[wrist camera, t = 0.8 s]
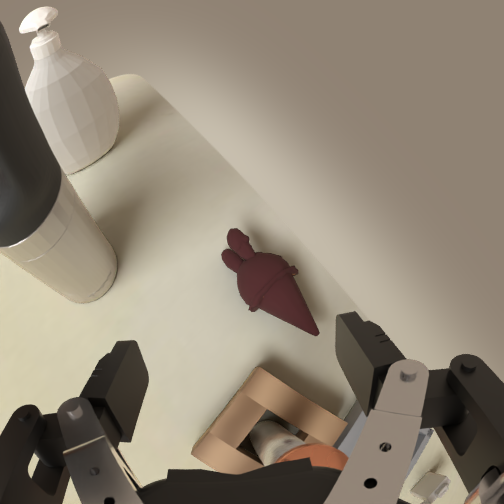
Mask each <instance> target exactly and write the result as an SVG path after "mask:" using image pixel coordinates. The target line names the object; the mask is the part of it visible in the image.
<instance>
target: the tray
mask: <svg viewBox="0 0 504 504" xmlns="http://www.w3.org/2000/svg"><path fill="white" fill-rule="evenodd" d="M367 418H368V417H366V416H365V414H364V412H363V410H362V408H361V406H360V404H359V402H358V400H357V401H356V402H355V404H354V405H353V407H352V409H351V410H350V412H349V413H348V415H347V417H346V418H345V420H344V421H345V422H347V423H348V424H347V426H346V427H345V429H344V430H343V432H342V433H341V435H340V436H339V438H338V439H337V441H336V442H335V443H334V445H333V446H332V447H334V448H336V449H338V450H340V451H342V452H343V453H344V454H345V455H347V456H348V458H349V457H350V455H351V453H352V451H353V449H354V447H355V445H356V442H357V440H358V438H359V436H360V434H361V432H362V429H363V427H364V425H365V423H366V420H367ZM433 431H434V430H432V429H430V428H426V429H420V430H419V434H418V438H417V442H416V445H415V449H414V452H413V456H412V459H411V463H410V466H409V469H408V472H407V475H406V478H407V477H408V475H409V474H410V472H411V470H412V469H413V467H414V465H415V464H416V462H417V460H418V459H419V457H420V455H421V454H422V452H423V450H424V448H425V446H426V445H427V443H428V441H429V439H430V437H431V435H432V433H433ZM406 478H405V480H406Z"/></svg>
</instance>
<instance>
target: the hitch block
mask: <svg viewBox="0 0 504 504" xmlns="http://www.w3.org/2000/svg"><path fill="white" fill-rule="evenodd" d="M267 409H268V410H269V411H271V412H273V413H274V414H276V415H277V416H279V417H281V418H282V419H284V420H285V421H287V422H289V423H290V424H292V425H294V426H295V427H297V428H299V429H300V430H299V431H298V433H297V434H296V435H295V436H296V437H298V438H299V439H301V440H302V441H304V442H305V443H307V444H308V443H322V444H327V445H330V446H333V445H334V443H335V442H336V441H337V439H338V438H339V436H340V435H341V433H342V432H343V430H344V429H345V427H346V426H347V424H348V423H347V422H345V421H344V420H342V419H340V418H339V417H337V416H335V415H333V414H332V413H330V412H329V411H327V410H325V409H324V408H322V407H320V406H319V405H317V404H315V403H314V402H312V401H311V400H309V399H308V398H306V397H304V396H303V395H301V394H300V393H298V392H297V391H295V390H294V389H292V388H290V387H289V386H287V385H286V384H284V383H283V382H281V381H280V380H278V379H277V378H275V377H274V376H272V375H271V374H270V373H268V372H267V371H265V370H264V369H262V368H261V367H255V369H254V370H253V371H252V373H251V374H250V375H249V377H248V378H247V379H246V381H245V382H244V383H243V385H242V386H241V387H240V389H239V390H238V391H237V393H236V394H235V395H234V396H233V398H232V399H231V400H230V402H229V403H228V404H227V405H226V407H225V408H224V409H223V411H222V412H221V413H220V414H219V416H218V417H217V418H216V419H215V421H214V422H213V423H212V424H211V426H210V427H209V428H208V429H207V430H206V432H205V433H204V434H203V435H202V437H201V438H200V439H199V440H198V441H197V443H196V444H195V445H194V446H193V449H192V452H191V455H193V456H194V457H196V458H197V459H199V460H200V461H202V462H203V463H205V464H207V465H208V466H210V467H211V468H213V469H215V470H216V471H218V472H221V473H228V474H242V473H246V472H249V471H252V470H255V469H258V468H262V467H265V466H264V464H263V463H262V461H261V459H260V458H259V457H257V456H256V455H254V454H252V453H250V452H249V451H247V450H246V449H244V448H242V447H241V446H239V445H240V443H241V442H242V441H243V440H244V438H245V437H246V436H247V435H248V433H249V432H250V431H251V429H252V428H253V427H254V426H255V424H256V423H257V422H258V420H259V419H260V418H261V416H262V415H263V414H264V412H265V411H266V410H267Z"/></svg>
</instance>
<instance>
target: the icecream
mask: <svg viewBox="0 0 504 504" xmlns="http://www.w3.org/2000/svg"><path fill="white" fill-rule="evenodd" d="M227 242H228V245H229V247H230V248H231V249H232V250H233V251H235V252H236V253H237V254H236V253H235V252H233V251H232V250H230V249H225V250H224V251H223V252H222V254H221V255H222V260H223V261H224V263H225V264H226V266H227V267H228V268H230V269H231V270H233V271H234V272H236V273H237V285H238V289H239V293H240V296H241V297H242V299H243V300H244V301H245V303H246V304H247V305H250V306H249V310H250V311H251V312H255V311H257V310H258V309H259V308H260V309H262V310H263V311H265V312H267V313H269V314H271V315H273V316H275V317H277V318H279V319H281V320H283V321H285V322H288V323H290V324H292V325H294V326H296V327H298V328H300V329H302V330H304V331H306V332H308V333H310V334H312V335H314V336H318V335H319V333H320V332H319V330H318V328H317V325H316V323H315V321H314V319H313V317H312V315H311V313H310V311H309V309H308V306H307V304H306V302H305V300H304V298H303V296H302V294H301V292H300V290H299V288H298V285H297V283H296V281H295V279H294V277H293V276H294V275H296V274H298V269H296V268H295V266H291V267H290V266H289V264H288V263H287V262H286V261H285V260H284V259H283V258H282V257H281V256H279V255H275V254H272V253H262V252H256V253H255V252H254V250H253V248H252V246H251V245H250V244H249V237H248V236H246V235H244V234H243V233H242V232H241V231H240V230H238V229H237V228H234V229H230V230H229V232H228V235H227ZM242 258H243V259H245V261H244V260H243V259H242Z"/></svg>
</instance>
